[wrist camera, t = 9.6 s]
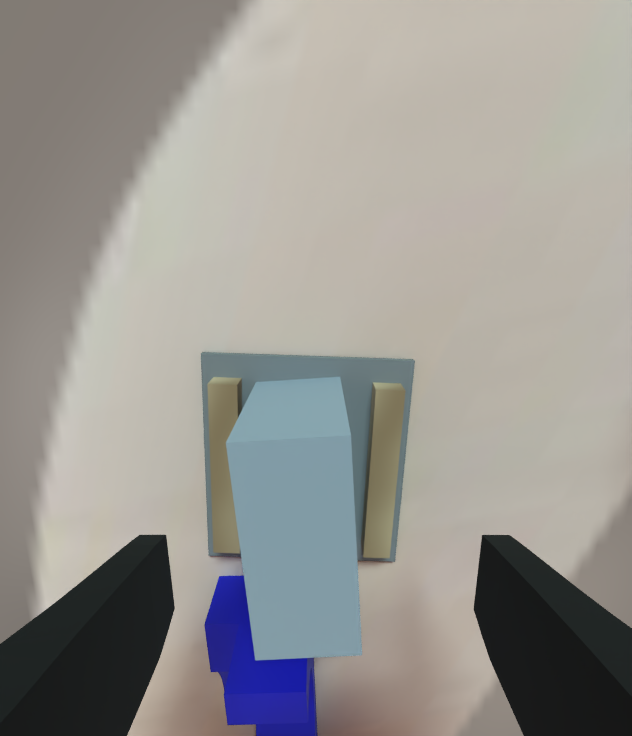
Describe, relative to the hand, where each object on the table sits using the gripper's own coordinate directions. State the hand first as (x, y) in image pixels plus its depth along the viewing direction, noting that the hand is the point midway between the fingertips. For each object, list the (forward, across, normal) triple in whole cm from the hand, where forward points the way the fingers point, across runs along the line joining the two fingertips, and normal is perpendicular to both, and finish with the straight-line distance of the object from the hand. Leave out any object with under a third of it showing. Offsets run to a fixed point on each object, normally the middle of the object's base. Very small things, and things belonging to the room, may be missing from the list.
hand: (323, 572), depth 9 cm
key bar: (+9, +1, +2) cm, 9 cm away
